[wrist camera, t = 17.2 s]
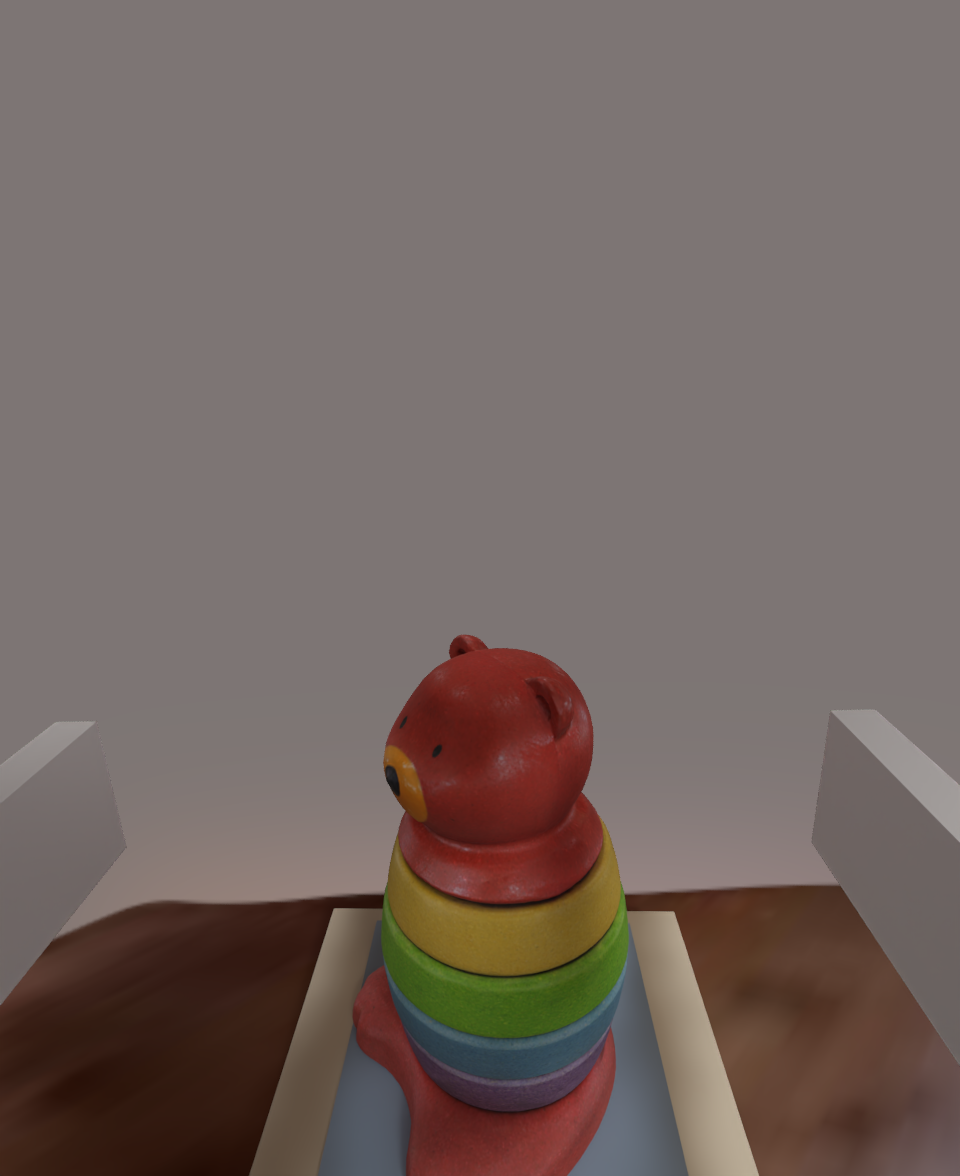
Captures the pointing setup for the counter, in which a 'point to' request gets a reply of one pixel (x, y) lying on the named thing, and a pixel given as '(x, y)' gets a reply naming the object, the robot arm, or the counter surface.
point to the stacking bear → (497, 922)
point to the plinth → (633, 1116)
